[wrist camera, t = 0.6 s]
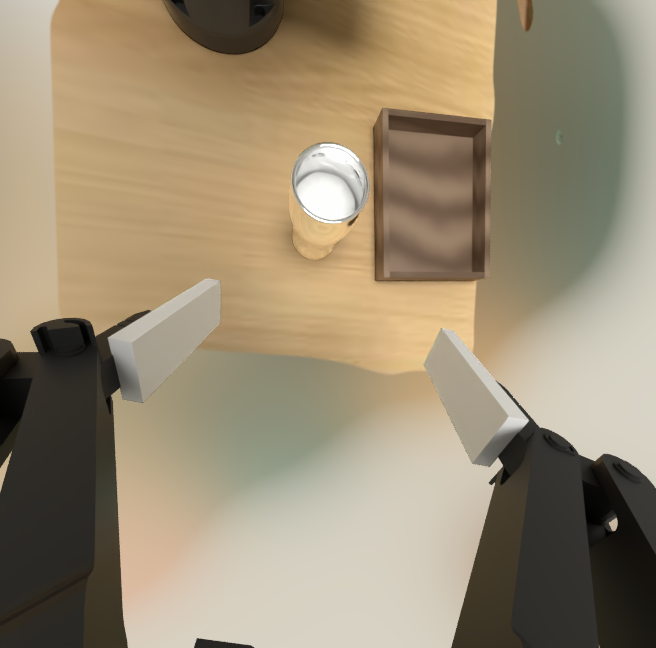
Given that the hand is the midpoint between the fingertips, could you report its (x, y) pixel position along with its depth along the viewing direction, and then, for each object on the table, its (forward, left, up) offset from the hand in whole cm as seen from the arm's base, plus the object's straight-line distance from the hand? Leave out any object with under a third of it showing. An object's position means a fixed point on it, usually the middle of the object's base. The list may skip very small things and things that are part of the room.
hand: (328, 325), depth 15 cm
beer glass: (-11, +1, -21) cm, 24 cm away
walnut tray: (-16, +18, -21) cm, 32 cm away
